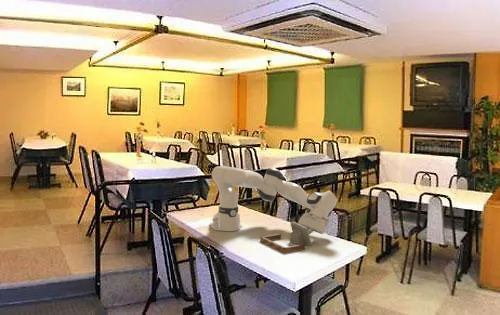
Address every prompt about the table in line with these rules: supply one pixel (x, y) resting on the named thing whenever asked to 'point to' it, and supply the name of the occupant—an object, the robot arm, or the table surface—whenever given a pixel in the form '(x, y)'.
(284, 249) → the frame
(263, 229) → the table surface
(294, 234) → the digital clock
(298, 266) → the table surface
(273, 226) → the table surface
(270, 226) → the table surface
